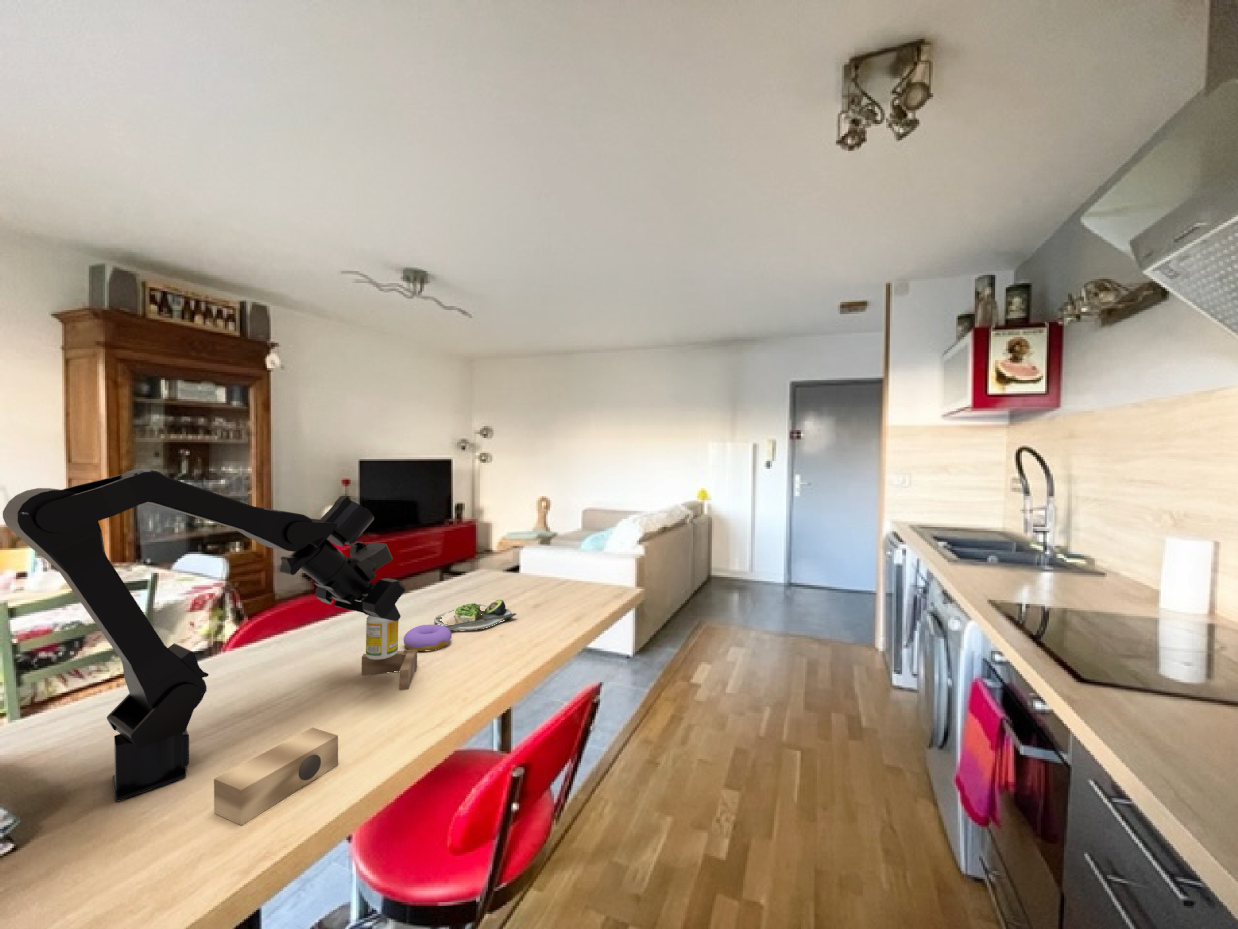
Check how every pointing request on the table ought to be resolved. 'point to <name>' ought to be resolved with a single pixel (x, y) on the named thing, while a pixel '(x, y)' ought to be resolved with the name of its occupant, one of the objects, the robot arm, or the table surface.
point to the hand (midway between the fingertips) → (389, 616)
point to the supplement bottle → (381, 638)
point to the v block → (393, 666)
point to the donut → (427, 637)
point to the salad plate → (477, 616)
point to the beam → (274, 775)
